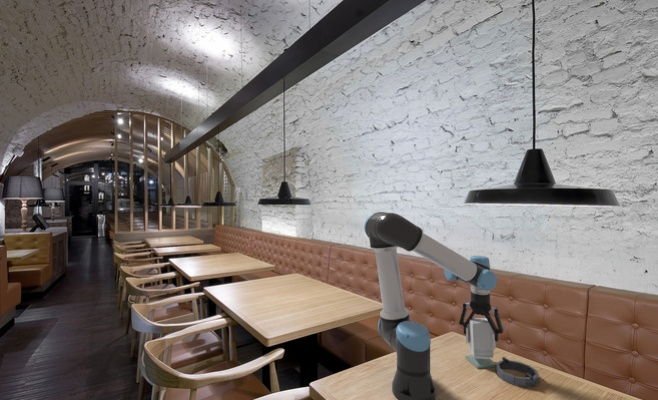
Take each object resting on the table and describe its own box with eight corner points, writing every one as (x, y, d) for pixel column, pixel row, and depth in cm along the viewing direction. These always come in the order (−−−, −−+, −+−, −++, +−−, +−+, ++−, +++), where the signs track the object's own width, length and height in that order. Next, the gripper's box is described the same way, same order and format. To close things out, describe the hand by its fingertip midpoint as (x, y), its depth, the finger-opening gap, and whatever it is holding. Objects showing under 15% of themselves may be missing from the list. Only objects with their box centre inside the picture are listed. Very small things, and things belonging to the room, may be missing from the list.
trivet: (477, 368, 131) (477, 366, 131) (465, 358, 140) (465, 355, 140) (497, 366, 132) (497, 364, 132) (484, 356, 141) (484, 354, 141)
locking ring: (514, 389, 116) (514, 378, 116) (487, 368, 131) (487, 358, 131) (549, 386, 118) (549, 375, 118) (518, 365, 133) (518, 355, 133)
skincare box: (488, 352, 138) (488, 317, 139) (494, 358, 132) (493, 322, 133) (468, 351, 139) (468, 317, 139) (473, 357, 133) (472, 322, 133)
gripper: (450, 290, 140) (451, 341, 140) (508, 299, 126) (509, 356, 126) (455, 286, 146) (456, 335, 146) (511, 294, 132) (511, 349, 132)
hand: (480, 345), depth 136 cm, fingers closed on skincare box, 10 cm apart
